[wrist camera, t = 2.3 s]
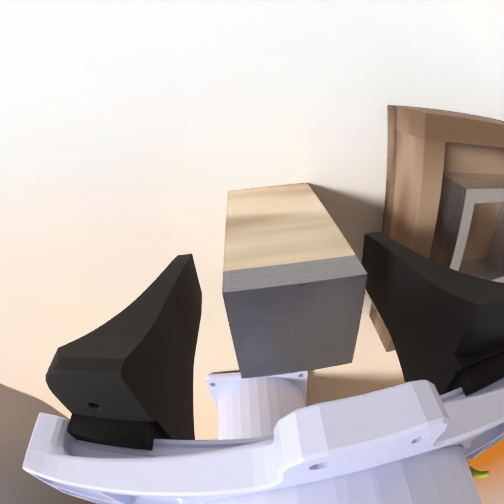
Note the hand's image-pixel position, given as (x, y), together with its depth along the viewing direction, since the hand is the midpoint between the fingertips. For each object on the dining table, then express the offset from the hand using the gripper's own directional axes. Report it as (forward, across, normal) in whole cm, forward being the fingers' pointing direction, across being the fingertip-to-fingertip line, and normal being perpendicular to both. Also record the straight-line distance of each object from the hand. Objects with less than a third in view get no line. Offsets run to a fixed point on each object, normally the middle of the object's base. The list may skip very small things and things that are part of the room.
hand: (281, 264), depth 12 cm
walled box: (+4, -13, +1) cm, 14 cm away
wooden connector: (+4, 0, 0) cm, 4 cm away
